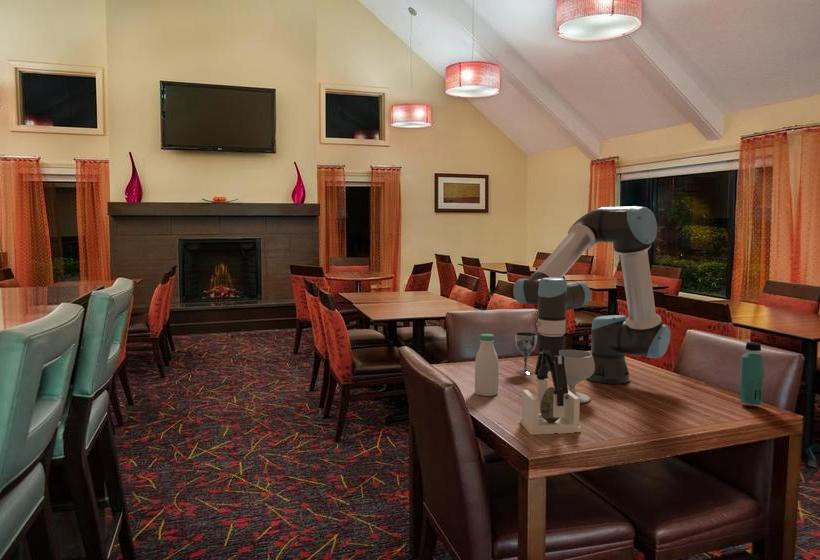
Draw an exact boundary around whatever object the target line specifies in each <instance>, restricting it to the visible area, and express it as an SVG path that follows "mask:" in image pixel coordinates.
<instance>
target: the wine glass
mask: <svg viewBox="0 0 820 560" xmlns="http://www.w3.org/2000/svg"><path fill="white" fill-rule="evenodd" d="M514 337H515V338H514V339H515V345H516V348H517V350H518V351H519V352H520V354H521V355H522V357H523V360H524V361H523V362H524V363H523V364H524V366H523V367H524V368H523V369H520V370H516V371H517V372H516V371H515V373H516V374H517V375H520V374H521V375H523V376H531V375H535V371H532V370H528V369H527V368H528V367H527V366H528V365H527V364H528V363H527V362H528V358H529V356H530V355H531V354H532V352H533V351H535V349H536V346H537V340H538V334H537V333H536V332H533V331H532V332H531V331H518V332H515V336H514Z"/></svg>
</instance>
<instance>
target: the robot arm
mask: <svg viewBox="0 0 820 560" xmlns="http://www.w3.org/2000/svg"><path fill="white" fill-rule="evenodd" d="M568 228H569V229H567V230H568V231H567V235H566V236H565V238H563V240H561V241H560V243H559V244H558V245H557V247H556V248H555V249H554V250H552V252H551V253H550V254H549V255H548V257H547V258H546V259H545V260H543V262H542V263H541V265H539V267H537V269H536V270H535V271H534V272H533V273H532V275H531V276H530V277H529V278H526V277H525V278H520V279H519V278H518V280H516V281H515V283H514V285H513V289H512V291H513V292H512V293H513V297H514V299H515V301H517V302H518V303H520V304H525V305H535V306H537V308H538V309H537V312H538V314H537V322H536V323H535V324H536V326H537V332H538V334H537V341H536V346H537V348H538V355H537V360H536V365H535V369H534V370H535V371H534V372H535V374H534V376H536V379H537V385H536V386H537V390H536V391H537V392H536V398H537V399H538V400H539V403H541V400H542V397H543V395H544V393H545V391H546V390H547V389H548V379H549V376H548V375H549V372H550V375H551V379H552V383H553V387H554V389H555V391H554V392H553V394H554V403H553V417H554V418H557V417H564V394H567V393H568V390H569V386H568V384H567V379H566V372H565V365H564V356H559V351H560V350H565V348H566V338H567V337H566V335H565V334H566V333H567V311H569V310H570V311H571V310H576V309H580V308H583V307H586V306H587V305H588V304H589V303H590V300H591V297H592V293H591V289H590V287H589V286H588V285H587V284H586V283H585V282H582V281H570V282H567V280H566V278H563V277H564V276H566V274H567V273H568V272H569V270H570V269H571V268H572V267H573V266H574V265H575V263H576V262H577V261H578V260H579V258H580V257H581V256H582V255H583V254H584V252H586V250H590V249H592V248H593V247H594V245H596V244H598V243H612V244H613V250H614V252H616V253H617V254H619V258H620V264H621V270H622V271H621V272H622V279H623V284H624V285H623V286H624V291H625V292H624V293H625V298H626V305H627V311H628V317H627V316H626V315H623V314H615V315H614V314H612V315H611V314H610V315H603V316H601V315H600V316H596V317H595V318H593V320H592V324H591V345H590V346H591V347H590V349H591V352H590V354H591V355H592V357H593V359H594V363H595V371H594V373H593V375H592V376H590V377H589V378H587V379H586V380H589V381H591V382H594V383H600V384H608V385H609V384H610V385H618V384H619V385H621V384H625V383H628V382H630V372H629V368H628V365H627V361H626V354H628V355H634V356H640V357H644V358H645V357H646V358H647V359H649V358H651V359H660V358H662V357H664V355H665V353H666V352H667V350H668V348H669V345H670V341H671V328H670V326H669V325H666V324H663V320H662V316H660V315H659V314H658V313H657V311H656V305H655V297H654V289H653V284H652V283H653V281H652V276H651V268H650V261H649V259H650V258H649V252H648V251H649V250H650V249H651V247H652V245H653V244H652V243H653V242H654V241H655V240H656V238H657V235H658V232H657V231H658V223H657V219H656V216H655V214H654V212H653V211H652V210H651V209H649V208H648V207H646V206H637V205H631V206H629V205H628V206H601V207H598V208H595V209H593V210H591V211H588V212H587V213H585V214H584V215H582V216H581V217H579V218H578V219H577V220H576V221H575V222H574V223H573V224H572V225H571V226H570V227H568Z"/></svg>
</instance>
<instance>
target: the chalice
mask: <svg viewBox="0 0 820 560" xmlns="http://www.w3.org/2000/svg"><path fill="white" fill-rule="evenodd" d="M559 356H564V365H565V372H566V379H567V386H568V390H569V391H570V392H572V393H573V394H574V395H576V396H577V397H578V398H580V404H586V403H589V402H591V401H592V398H591V397H590V396H589V395H588V394H585V393H583V392H582V393H581V392H577V391H575V389H576V386H577V384H579V383H580V382H582V381H584V380H588V379H587V378H589V377H590V376H592V375H593V373H594V371H595V363H594V359H593V357H592V355H591V352H589V351H585V350H580V349H579V350H578V349H562V350H560V351H559Z"/></svg>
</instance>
